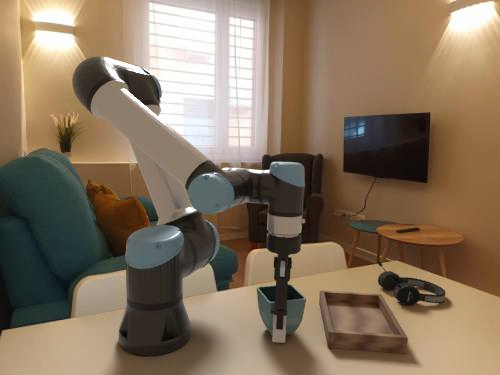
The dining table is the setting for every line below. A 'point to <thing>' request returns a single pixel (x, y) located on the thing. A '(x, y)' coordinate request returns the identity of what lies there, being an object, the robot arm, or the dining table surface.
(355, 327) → the holder tray
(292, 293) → the flower pot
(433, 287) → the headset
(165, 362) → the dining table surface
